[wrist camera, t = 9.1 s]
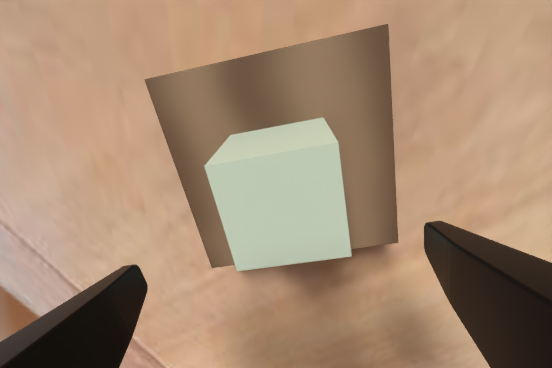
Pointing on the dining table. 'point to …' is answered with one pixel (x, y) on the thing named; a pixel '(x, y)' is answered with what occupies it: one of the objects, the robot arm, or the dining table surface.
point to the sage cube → (281, 195)
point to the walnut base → (285, 110)
